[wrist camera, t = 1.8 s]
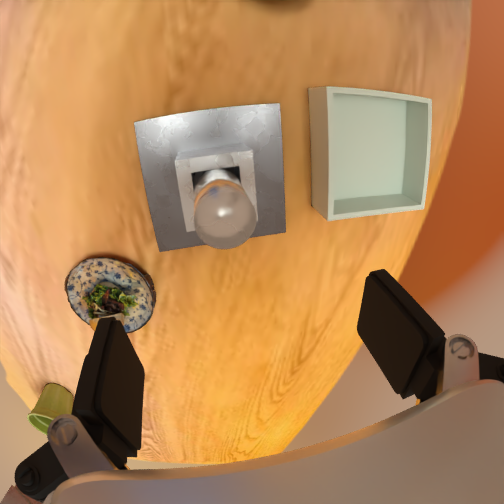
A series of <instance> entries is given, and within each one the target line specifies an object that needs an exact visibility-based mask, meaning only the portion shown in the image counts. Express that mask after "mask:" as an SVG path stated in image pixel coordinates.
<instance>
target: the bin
mask: <svg viewBox="0 0 504 504" xmlns="http://www.w3.org/2000/svg"><path fill="white" fill-rule="evenodd" d="M308 97H309V117H310V143H311V206H312V207H313V208H315V209H316V210H317V211H318V212H319V213H320V214H321V215H322V216H323V217H324V218H325V219H326V220H327V221H332V220H340V219H347V218H355V217H363V216H370V215H378V214H386V213H395V212H403V211H411V210H420V209H424V205H425V198H426V190H427V182H428V173H429V162H430V148H431V127H432V99H429V98H424V97H418V96H413V95H407V94H401V93H394V92H387V91H379V90H370V89H359V88H347V87H330V86H325V87H314V88H308Z"/></svg>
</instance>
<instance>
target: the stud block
mask: <svg viewBox="0 0 504 504" xmlns="http://www.w3.org/2000/svg"><path fill="white" fill-rule="evenodd" d="M134 126H135V133H136V139H137V146H138V152H139V157H140V163H141V169H142V174H143V179H144V184H145V190H146V194H147V199H148V204H149V209H150V213H151V218H152V222H153V226H154V231H155V235H156V239H157V243H158V247H159V251H160V252H163V251H169V250H175V249H181V248H187V247H193V246H200V245H206V243H204V242H203V241H202V240H201V239H200V237H199V236H198V234H197V232H196V231H190V232H187V231H186V226H185V220H184V215H183V209H182V204H181V198H180V192H179V186H178V180H177V174H176V167H175V159H176V156H177V154H178V153H179V152H185V151H192V150H198V149H205V148H212V147H220V146H228V145H236V144H245V145H246V146H248V147H249V148H250V149H251V150H253V162H254V175H255V188H256V201H257V214H258V221H256V226H255V229H254V232H253V233H252V235H251V236H250V237H249V238H251V237H258V236H265V235H271V234H278V233H285V232H286V221H285V193H284V169H283V149H282V131H281V115H280V103H274V104H256V105H243V106H232V107H223V108H214V109H206V110H199V111H192V112H185V113H179V114H173V115H167V116H162V117H157V118H152V119H147V120H142V121H138V122H134ZM220 169H224V170H227V171H230V172H231V173H233V174H234V175H235V173H234V167H227V168H220ZM208 171H210V170H206V171H199V172H193V174H194V181H195V185H196V183H197V181H198V179H199V178H200V177H201V176H202V175H203V174H204V173H206V172H208Z"/></svg>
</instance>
